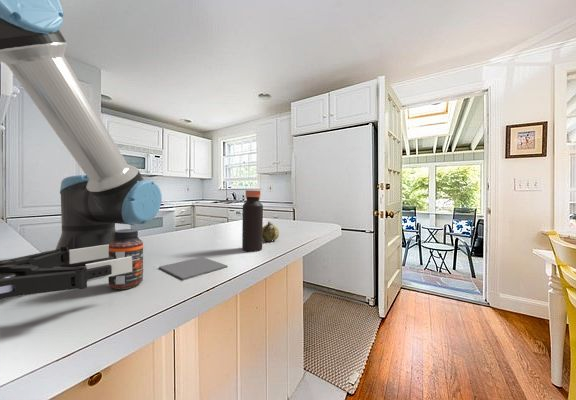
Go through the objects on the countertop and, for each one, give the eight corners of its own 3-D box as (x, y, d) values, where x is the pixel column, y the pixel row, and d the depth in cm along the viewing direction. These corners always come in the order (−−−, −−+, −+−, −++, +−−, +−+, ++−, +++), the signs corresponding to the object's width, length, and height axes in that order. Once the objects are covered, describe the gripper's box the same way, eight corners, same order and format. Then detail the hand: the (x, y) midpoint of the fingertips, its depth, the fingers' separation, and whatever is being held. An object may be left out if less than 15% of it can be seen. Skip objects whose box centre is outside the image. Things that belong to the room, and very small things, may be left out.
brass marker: (110, 285, 49) (110, 284, 49) (134, 279, 53) (134, 278, 53) (117, 291, 47) (117, 290, 47) (142, 284, 50) (142, 283, 50)
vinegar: (238, 249, 81) (238, 190, 80) (253, 245, 86) (253, 190, 85) (251, 253, 76) (252, 190, 76) (266, 249, 82) (267, 190, 81)
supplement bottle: (126, 291, 46) (125, 233, 46) (100, 288, 47) (99, 231, 47) (149, 280, 52) (149, 228, 52) (126, 277, 53) (126, 227, 53)
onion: (283, 240, 96) (284, 221, 95) (269, 244, 90) (269, 222, 89) (270, 238, 101) (270, 219, 100) (255, 240, 95) (256, 220, 94)
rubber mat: (159, 268, 60) (159, 266, 60) (202, 258, 70) (202, 256, 70) (182, 280, 53) (182, 278, 53) (227, 267, 62) (227, 265, 62)
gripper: (-56, 291, 40) (102, 262, 56) (-89, 361, 24) (143, 292, 40) (-58, 246, 39) (101, 230, 56) (-93, 287, 24) (143, 248, 40)
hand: (119, 256), depth 48 cm, fingers open, 13 cm apart
